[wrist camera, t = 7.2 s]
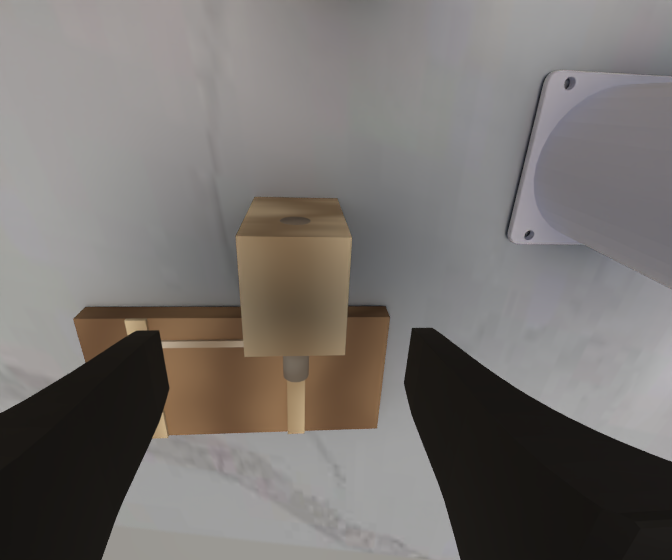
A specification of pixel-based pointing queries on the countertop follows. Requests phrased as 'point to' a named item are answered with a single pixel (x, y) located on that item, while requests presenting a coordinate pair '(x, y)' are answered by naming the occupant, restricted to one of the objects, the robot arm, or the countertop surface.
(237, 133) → the countertop surface
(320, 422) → the walnut board
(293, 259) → the pale wood holed block
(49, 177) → the countertop surface
